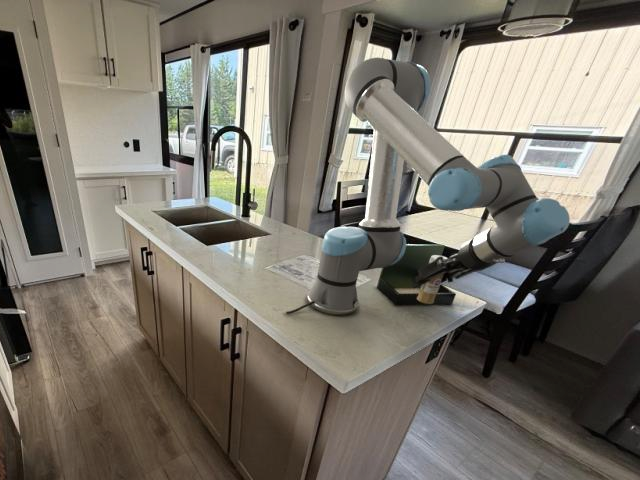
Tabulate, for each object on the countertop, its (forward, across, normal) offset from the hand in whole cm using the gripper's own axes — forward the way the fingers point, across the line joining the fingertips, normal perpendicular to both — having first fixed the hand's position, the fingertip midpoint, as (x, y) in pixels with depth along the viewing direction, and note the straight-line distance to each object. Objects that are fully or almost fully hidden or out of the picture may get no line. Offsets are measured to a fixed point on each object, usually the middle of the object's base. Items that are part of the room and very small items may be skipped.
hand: (421, 283), depth 97 cm
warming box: (+13, +6, 0) cm, 14 cm away
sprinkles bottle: (0, 0, -6) cm, 6 cm away
